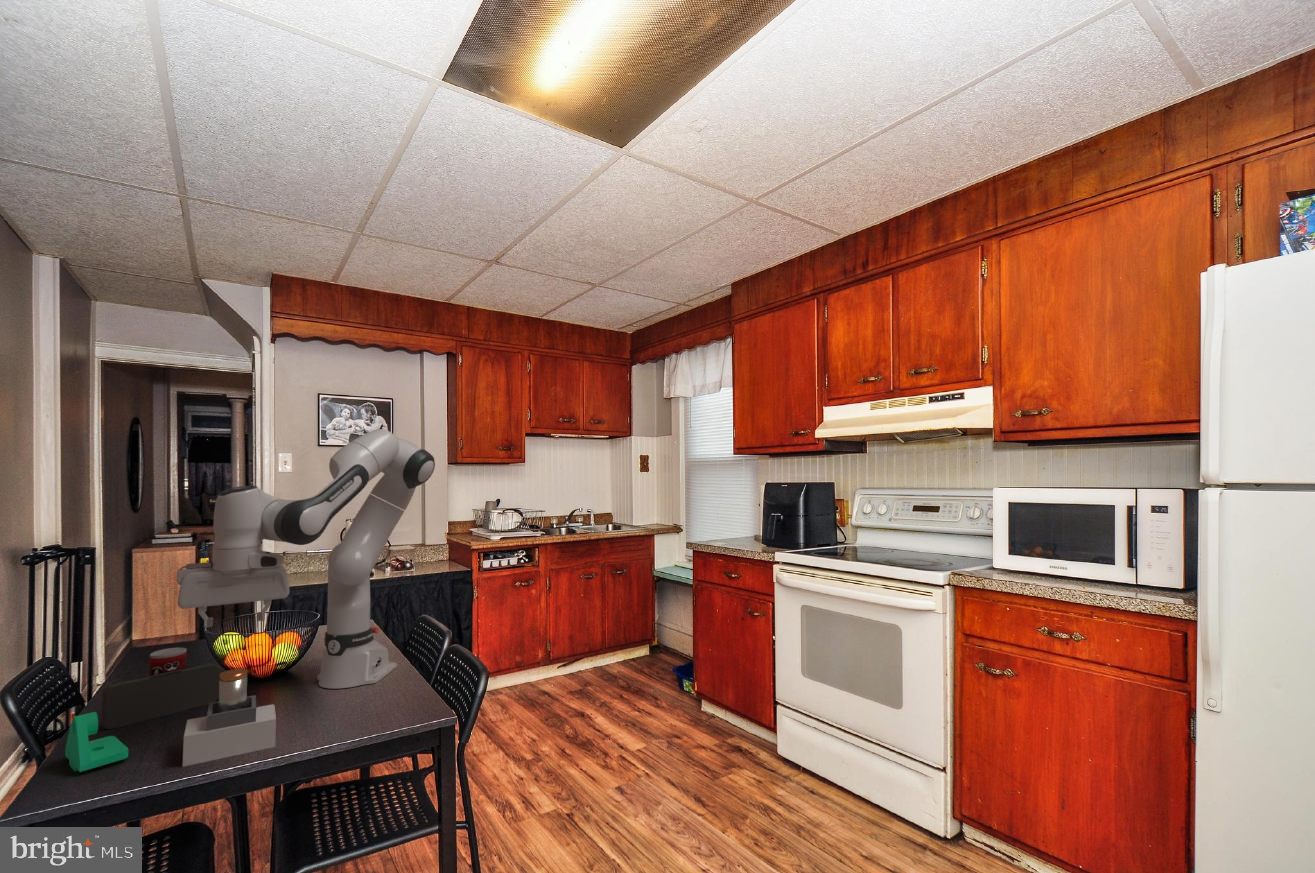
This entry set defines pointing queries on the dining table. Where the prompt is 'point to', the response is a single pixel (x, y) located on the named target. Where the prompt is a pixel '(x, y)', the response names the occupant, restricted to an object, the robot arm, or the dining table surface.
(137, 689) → the handheld gaming console
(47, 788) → the dining table surface
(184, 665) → the canned food
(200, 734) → the grey pedestal block
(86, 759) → the camera mount
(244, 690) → the glass jar
